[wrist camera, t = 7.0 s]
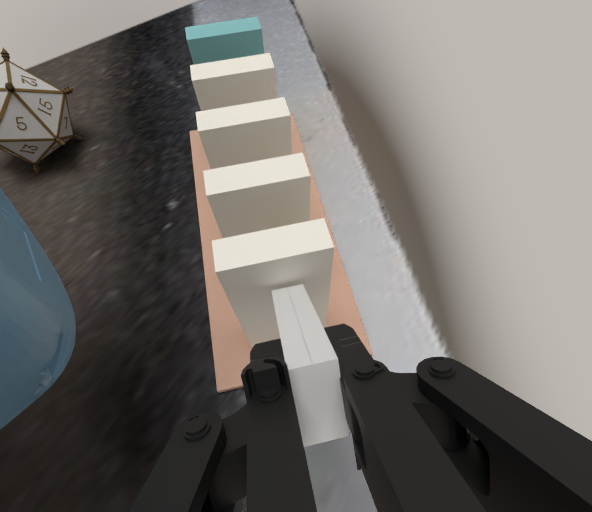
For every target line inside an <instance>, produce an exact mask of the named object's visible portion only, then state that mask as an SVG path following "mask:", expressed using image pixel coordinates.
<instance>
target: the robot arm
mask: <svg viewBox="0 0 592 512" xmlns="http://www.w3.org/2000/svg"><path fill="white" fill-rule="evenodd" d="M271 291H272V297H273V302H274V307H275V312H276V318H277V323H278V328H279V333H280V339H275V340H271V341H266V342H262V343H257V344H255V345H254V347H253V348H252V350H251V351H250V363H249V364H248V365H247V366H246V367H245V368H244V369H243V370H242V373H241V379H242V383H243V387H244V391H245V395H246V399H247V403H246V404H245V406H244V407H243V408H242V409H240V410H239V411H238V412H236V413H234V414H233V415H231V416H229V417H227V418H225V419H223V420H222V419H221V417H220V416H219V415H217V414H216V413H213V412H203V413H199V414H196V415H193V416H191V417H189V418H187V419H186V420H185V421H183V422H182V423H181V424H179V426H178V427H177V428H176V429H175V431H174V432H173V434H172V436H171V438H170V439H169V441H168V443H167V445H166V446H165V448H164V450H163V452H162V453H161V455H160V457H159V459H158V461H157V462H156V464H155V466H154V468H153V469H152V471H151V473H150V475H149V476H148V478H147V480H146V482H145V484H144V485H143V487H142V489H141V491H140V492H139V494H138V496H137V498H136V499H135V501H134V503H133V505H132V507H131V508H130V510H129V512H241V510H242V506H243V498H244V497H245V496H247V512H317V509H316V504H315V500H314V495H313V490H312V485H311V480H310V475H309V470H308V465H307V460H306V455H305V451H304V447H307V446H311V445H315V444H319V443H323V442H327V441H331V440H335V439H339V438H343V437H347V436H350V433H349V428H350V430H351V433H352V437H353V443H354V450H355V456H356V463H357V469H358V470H360V469H361V468H362V471H363V474H364V476H365V479H366V482H367V484H368V487H369V490H370V492H371V495H372V498H373V500H374V503H375V506H376V508H377V511H378V512H592V441H590V440H588V439H587V438H585V437H584V436H582V435H580V434H579V433H577V432H575V431H574V430H572V429H570V428H569V427H567V426H565V425H564V424H562V423H560V422H559V421H557V420H555V419H554V418H552V417H550V416H549V415H547V414H545V413H544V412H542V411H540V410H539V409H537V408H535V407H534V406H532V405H530V404H529V403H527V402H525V401H524V400H522V399H520V398H519V397H517V396H515V395H514V394H512V393H510V392H509V391H507V390H505V389H504V388H502V387H500V386H498V385H497V384H495V383H494V382H492V381H490V380H489V379H487V378H485V377H484V376H482V375H480V374H479V373H477V372H475V371H474V370H472V369H470V368H469V367H467V366H465V365H463V364H462V363H460V362H458V361H456V360H454V359H451V358H445V357H431V358H427V359H424V360H423V361H421V362H420V363H419V364H418V366H417V368H416V369H417V373H394V372H390V371H389V370H388V368H387V367H386V366H385V365H384V364H383V363H381V362H379V361H376V360H373V358H372V357H371V355H370V354H369V352H368V350H367V349H366V347H365V346H364V344H363V343H362V342H361V340H360V338H359V337H358V335H357V334H356V332H355V331H354V329H353V328H352V327H350V326H348V325H346V324H344V323H343V324H339V325H334V326H330V327H325V328H323V326H322V324H321V322H320V319H319V317H318V315H317V313H316V311H315V309H314V307H313V305H312V302H311V300H310V298H309V296H308V294H307V292H306V290H305V288H304V285H303V284H300V285H295V286H290V287H286V288H281V289H276V290H271ZM75 337H76V320H75V315H74V311H73V307H72V304H71V301H70V299H69V296H68V293H67V291H66V289H65V287H64V285H63V283H62V281H61V279H60V277H59V275H58V273H57V271H56V270H55V268H54V266H53V265H52V263H51V261H50V260H49V258H48V257H47V255H46V253H45V252H44V250H43V249H42V247H41V245H40V244H39V242H38V241H37V239H36V238H35V236H34V235H33V233H32V231H31V230H30V229H29V227H28V226H27V224H26V223H25V221H24V220H23V219H22V217H21V216H20V214H19V213H18V211H17V210H16V209H15V207H14V206H13V204H12V203H11V202H10V200H9V199H8V197H7V196H6V195H5V193H4V192H3V191H2V189H1V188H0V430H1V429H2V428H3V427H4V426H6V425H7V424H8V423H9V422H10V421H11V420H13V419H14V418H15V417H16V416H17V415H19V414H20V413H21V412H22V411H23V410H25V409H26V408H27V407H28V406H29V405H31V404H32V403H33V402H34V401H35V400H36V399H38V398H39V397H40V396H41V395H42V394H43V393H45V392H46V391H47V390H48V389H49V388H50V387H51V386H52V385H53V384H54V382H55V381H56V380H57V379H58V378H59V376H60V375H61V374H62V372H63V371H64V369H65V367H66V366H67V364H68V362H69V360H70V358H71V355H72V353H73V349H74V345H75ZM348 425H349V427H348Z"/></svg>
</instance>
